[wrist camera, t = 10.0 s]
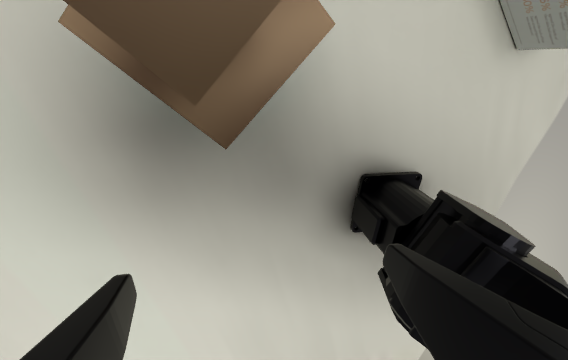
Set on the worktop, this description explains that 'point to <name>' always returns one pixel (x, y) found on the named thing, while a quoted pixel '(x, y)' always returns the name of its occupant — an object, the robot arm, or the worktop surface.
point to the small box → (537, 23)
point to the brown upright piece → (204, 51)
